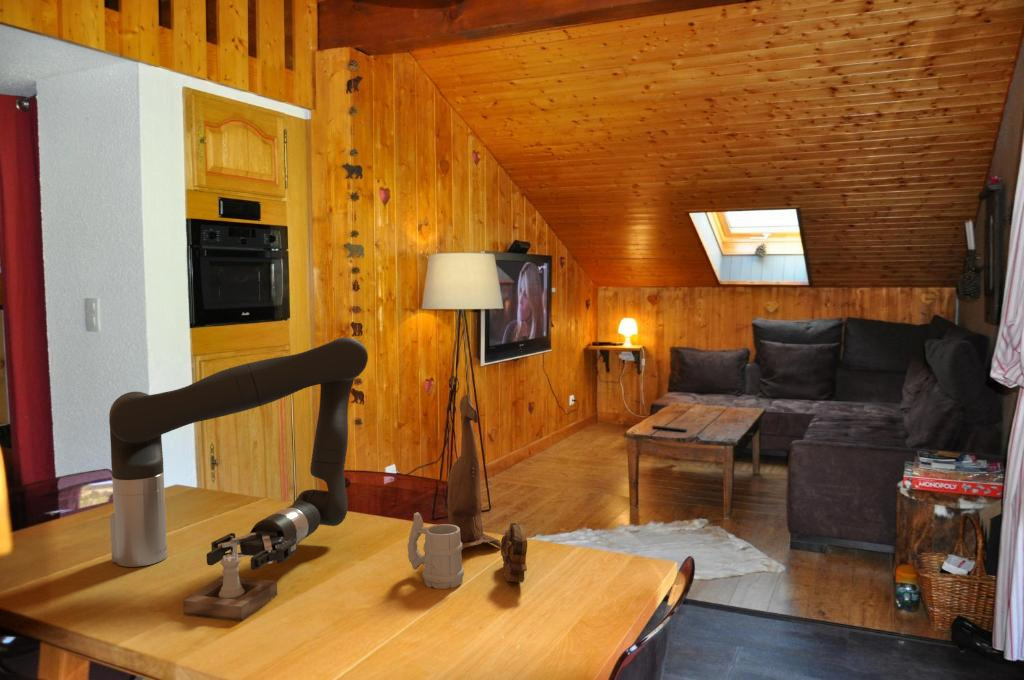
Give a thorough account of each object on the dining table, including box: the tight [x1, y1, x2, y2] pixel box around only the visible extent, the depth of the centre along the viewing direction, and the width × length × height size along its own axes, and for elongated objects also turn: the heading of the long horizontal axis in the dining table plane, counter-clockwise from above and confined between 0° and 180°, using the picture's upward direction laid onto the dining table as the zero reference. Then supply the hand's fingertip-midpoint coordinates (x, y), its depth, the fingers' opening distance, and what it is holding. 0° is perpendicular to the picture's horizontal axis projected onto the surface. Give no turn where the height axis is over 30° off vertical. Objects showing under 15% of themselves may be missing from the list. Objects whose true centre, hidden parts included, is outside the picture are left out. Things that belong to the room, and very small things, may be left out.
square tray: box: [182, 575, 278, 622], centre depth 139 cm, size 11×11×2 cm
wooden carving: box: [500, 522, 528, 583], centre depth 150 cm, size 16×5×10 cm, turn 12°
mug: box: [407, 511, 465, 590], centre depth 150 cm, size 8×12×12 cm, turn 59°
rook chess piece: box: [219, 554, 245, 600], centre depth 139 cm, size 4×4×8 cm
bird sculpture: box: [447, 394, 501, 552], centre depth 166 cm, size 11×12×32 cm
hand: (230, 562), depth 139 cm, fingers open, 8 cm apart
